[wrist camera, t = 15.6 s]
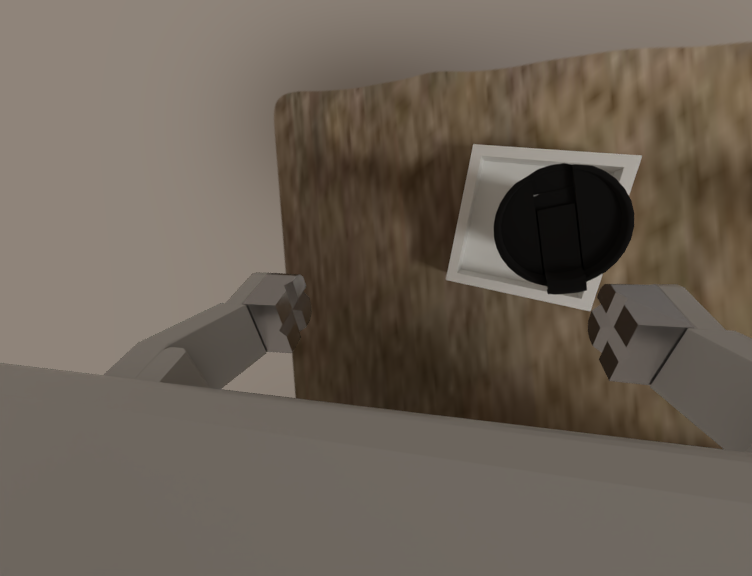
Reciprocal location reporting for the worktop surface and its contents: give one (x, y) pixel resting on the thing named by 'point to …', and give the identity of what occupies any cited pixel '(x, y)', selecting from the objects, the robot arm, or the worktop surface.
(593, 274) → the travel mug
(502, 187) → the tray
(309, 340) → the worktop surface
